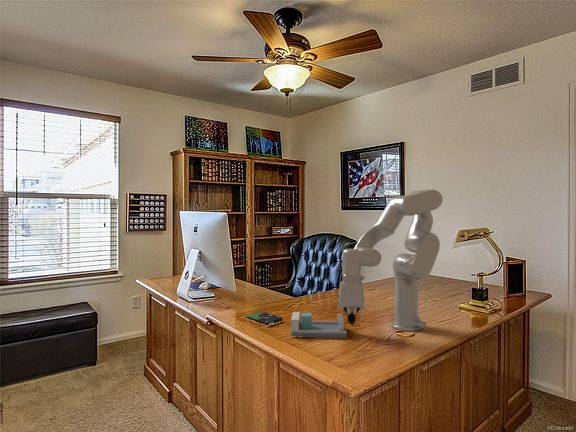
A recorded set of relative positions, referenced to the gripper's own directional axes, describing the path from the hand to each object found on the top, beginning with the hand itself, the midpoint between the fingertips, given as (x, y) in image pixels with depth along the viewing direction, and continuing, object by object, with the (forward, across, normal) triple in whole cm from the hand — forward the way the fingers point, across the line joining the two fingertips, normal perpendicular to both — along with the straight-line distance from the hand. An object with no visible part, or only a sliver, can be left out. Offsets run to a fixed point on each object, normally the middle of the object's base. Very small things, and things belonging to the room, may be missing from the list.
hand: (351, 323), depth 149 cm
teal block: (+2, +18, 0) cm, 19 cm away
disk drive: (+5, +38, -14) cm, 41 cm away
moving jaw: (+2, +5, 0) cm, 5 cm away
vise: (+4, +14, 0) cm, 14 cm away
